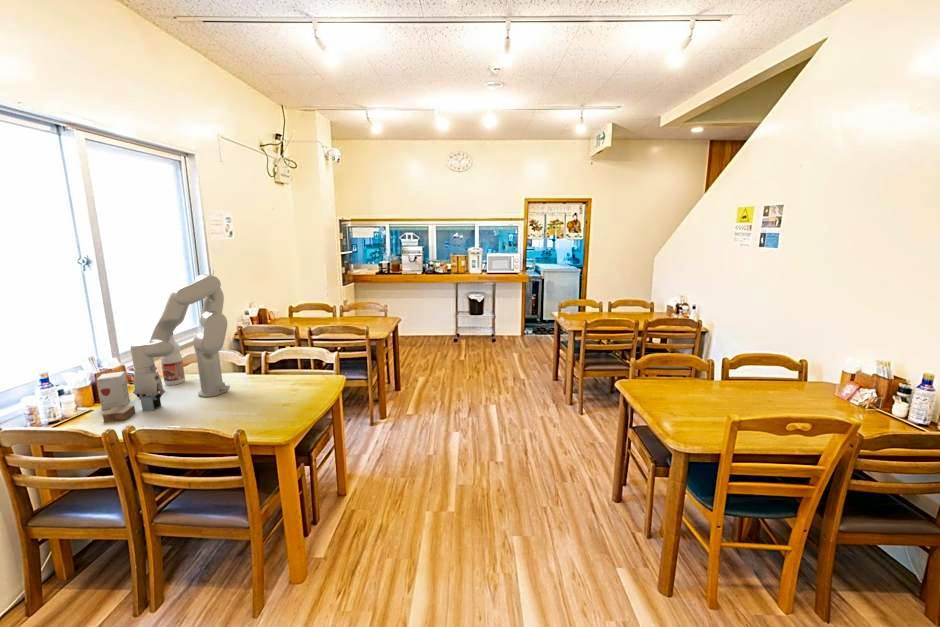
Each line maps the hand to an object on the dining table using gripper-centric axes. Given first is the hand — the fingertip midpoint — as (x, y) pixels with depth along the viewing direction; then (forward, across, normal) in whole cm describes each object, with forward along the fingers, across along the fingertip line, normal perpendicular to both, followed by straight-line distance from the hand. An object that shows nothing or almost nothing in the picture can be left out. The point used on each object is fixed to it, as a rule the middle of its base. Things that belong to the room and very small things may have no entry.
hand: (151, 406), depth 194 cm
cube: (+1, 0, 0) cm, 1 cm away
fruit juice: (+1, +16, -35) cm, 38 cm away
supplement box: (+1, +21, -4) cm, 22 cm away
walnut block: (+1, +6, +10) cm, 12 cm away
